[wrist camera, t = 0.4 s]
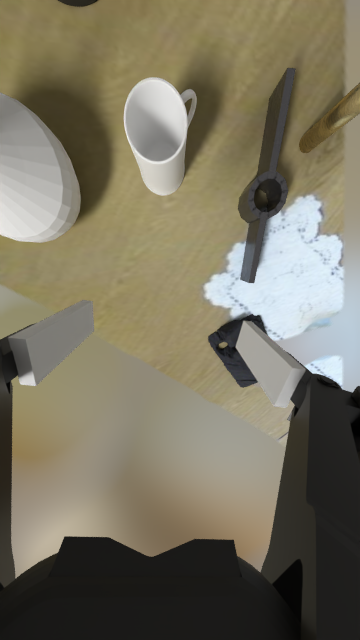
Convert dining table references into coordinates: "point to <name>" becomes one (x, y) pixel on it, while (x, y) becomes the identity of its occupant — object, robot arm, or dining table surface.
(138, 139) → the mug
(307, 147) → the pin
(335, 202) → the dining table surface
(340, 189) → the dining table surface
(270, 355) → the robot arm
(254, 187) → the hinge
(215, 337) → the dark slate chunk
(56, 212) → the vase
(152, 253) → the dining table surface
